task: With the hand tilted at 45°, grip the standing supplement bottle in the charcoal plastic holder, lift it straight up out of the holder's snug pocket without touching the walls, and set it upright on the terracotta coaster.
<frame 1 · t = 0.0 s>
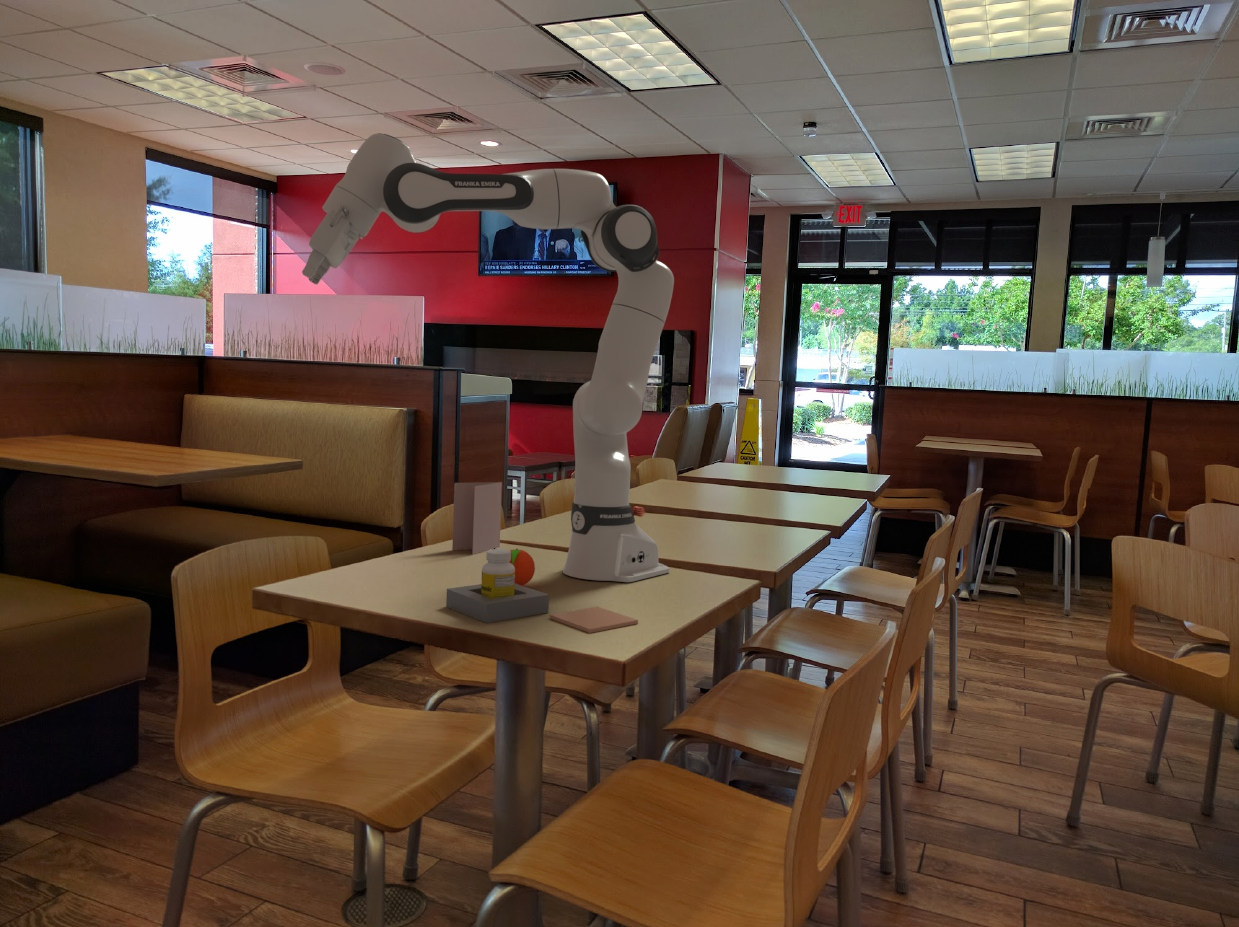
hand: (309, 279, 158), 54 cm above the table, tool tilted 30°, fingers open, 8 cm apart
greeting card: (481, 551, 194), on the table
coaster: (593, 621, 139), on the table
supplement bottle: (497, 611, 144), resting in pocket holder
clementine: (515, 588, 160), on the table
pocket holder: (497, 609, 144), on the table
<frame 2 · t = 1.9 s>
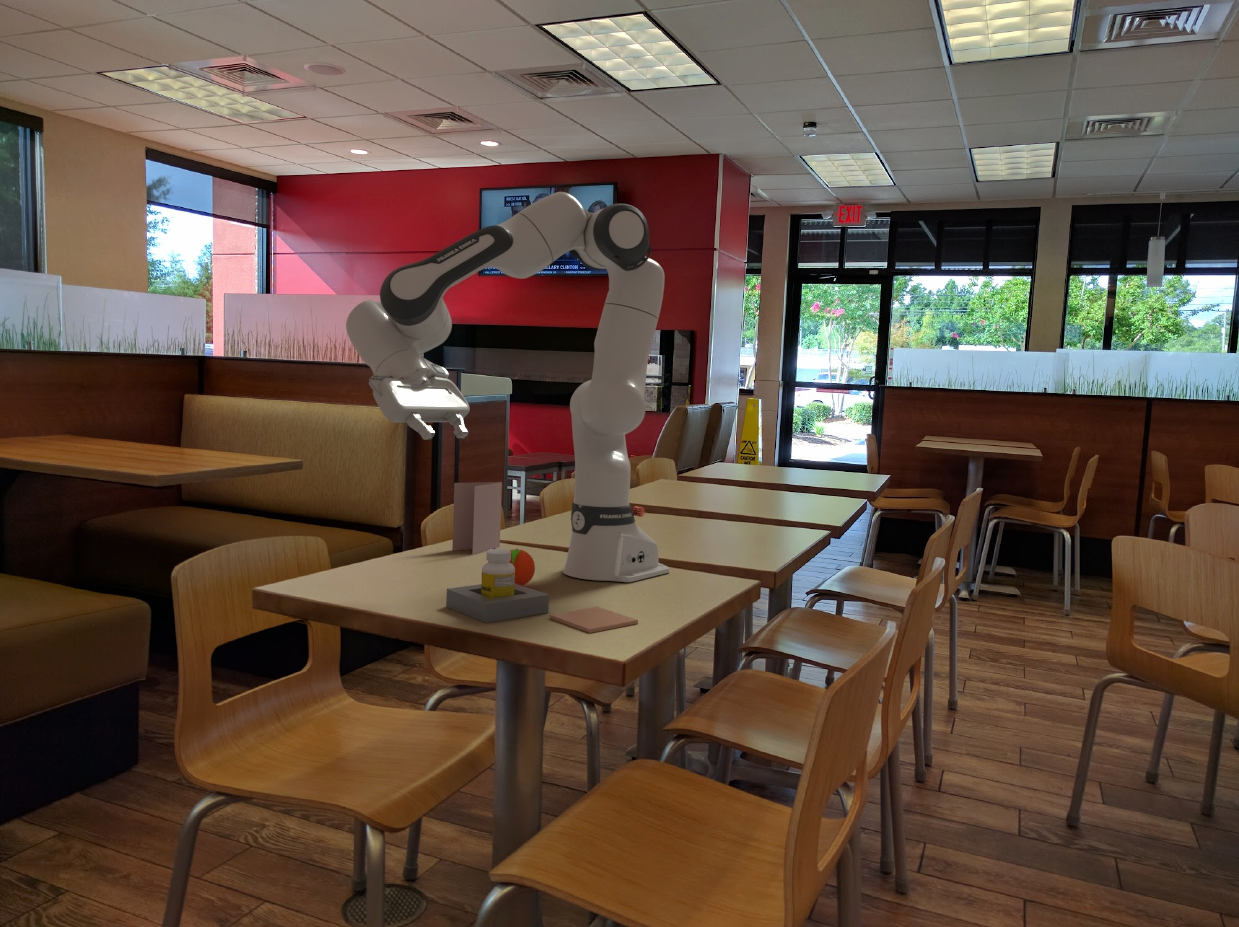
hand: (447, 436, 152), 27 cm above the table, tool tilted 45°, fingers open, 8 cm apart
nothing on the table moved.
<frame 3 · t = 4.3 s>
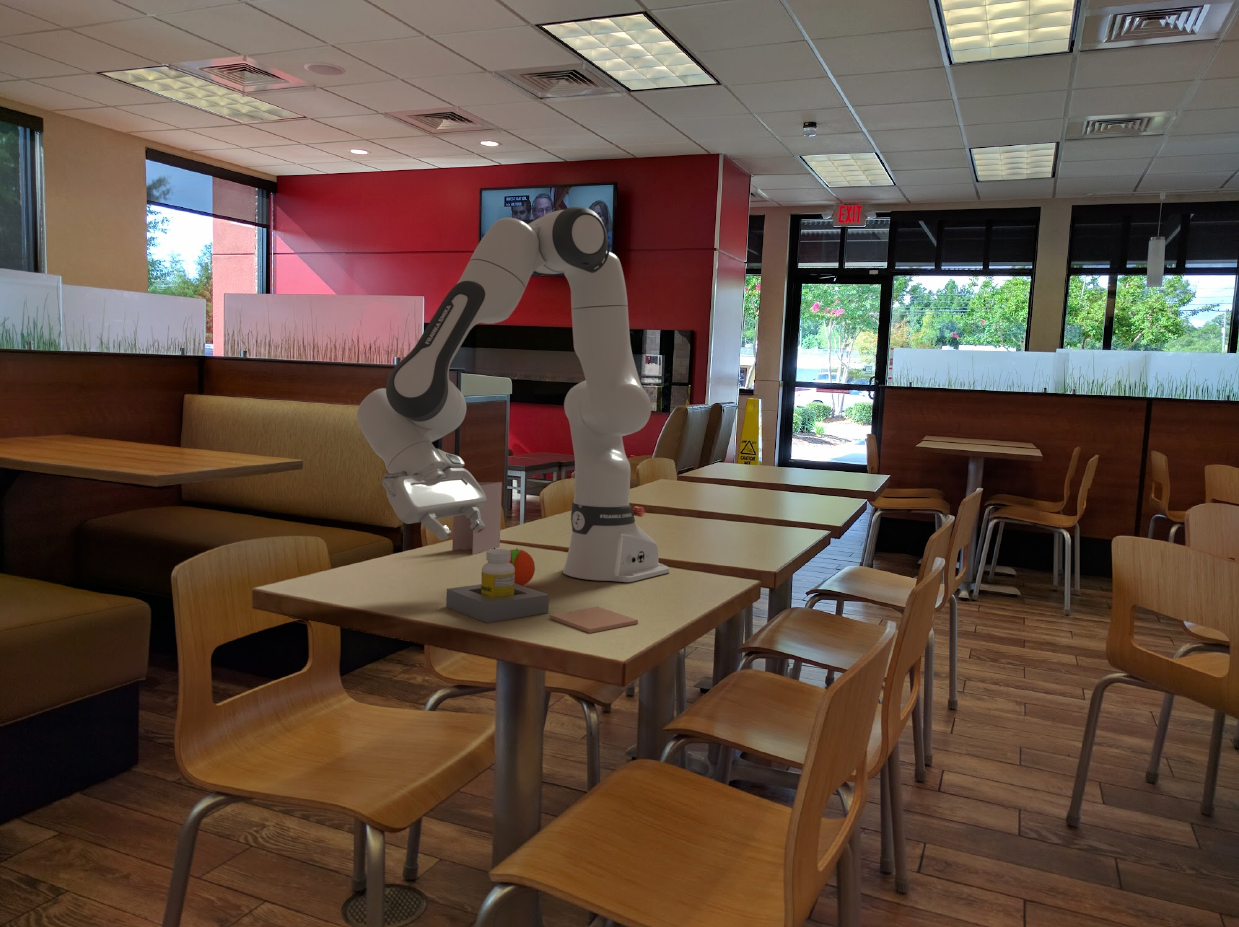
hand: (464, 534, 146), 12 cm above the table, tool tilted 45°, fingers open, 8 cm apart
nothing on the table moved.
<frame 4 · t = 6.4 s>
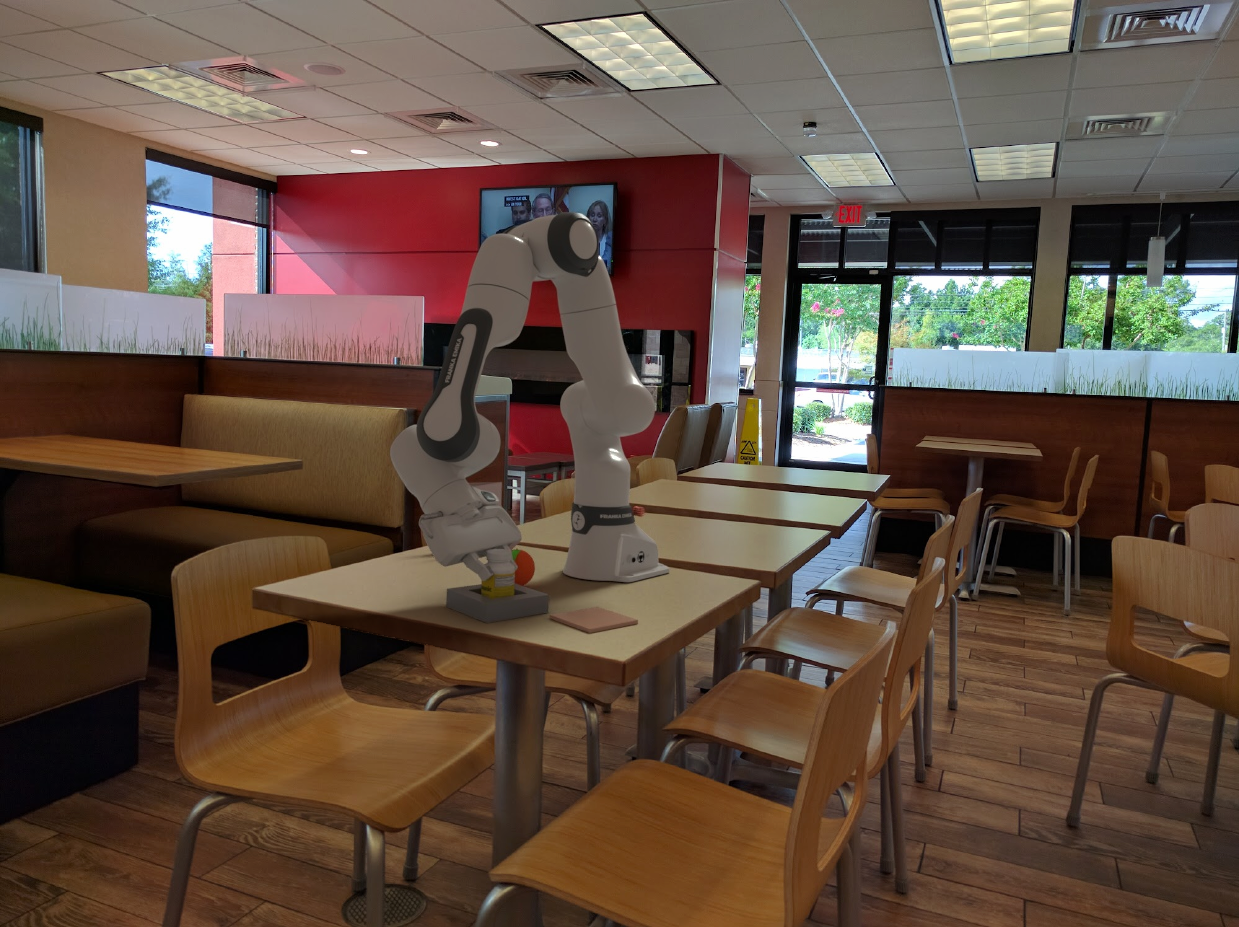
hand: (501, 574, 143), 6 cm above the table, tool tilted 45°, fingers closed on supplement bottle, 5 cm apart
supplement bottle: (497, 610, 144), resting in pocket holder, touching gripper
everything else where it was.
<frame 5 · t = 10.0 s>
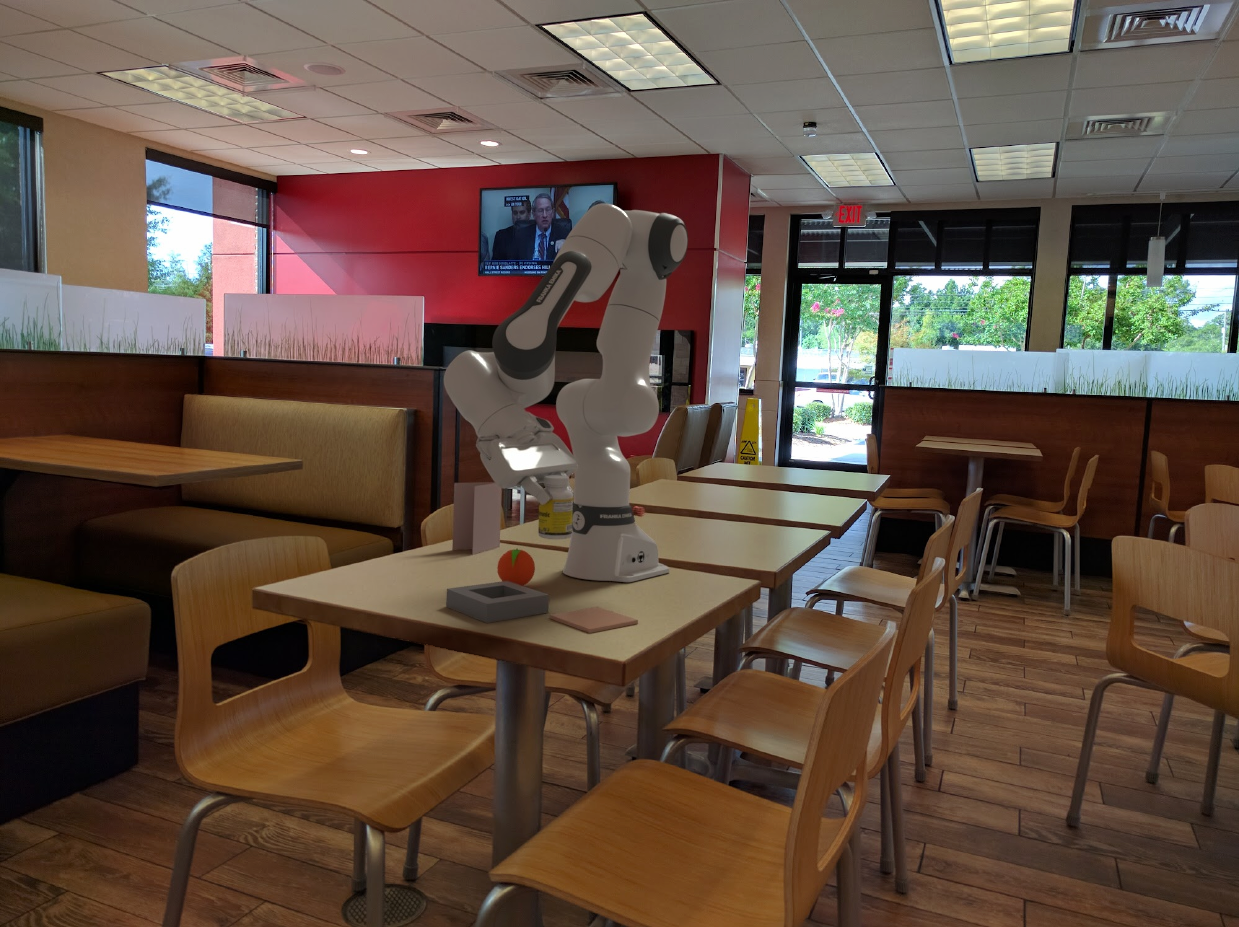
hand: (559, 499, 139), 19 cm above the table, tool tilted 45°, fingers closed on supplement bottle, 5 cm apart
supplement bottle: (554, 538, 140), point 13 cm above the table, touching gripper
everything else where it was.
when the fingers open (8 cm above the table, at t = 13.7 s): supplement bottle stays where it is, resting on coaster.
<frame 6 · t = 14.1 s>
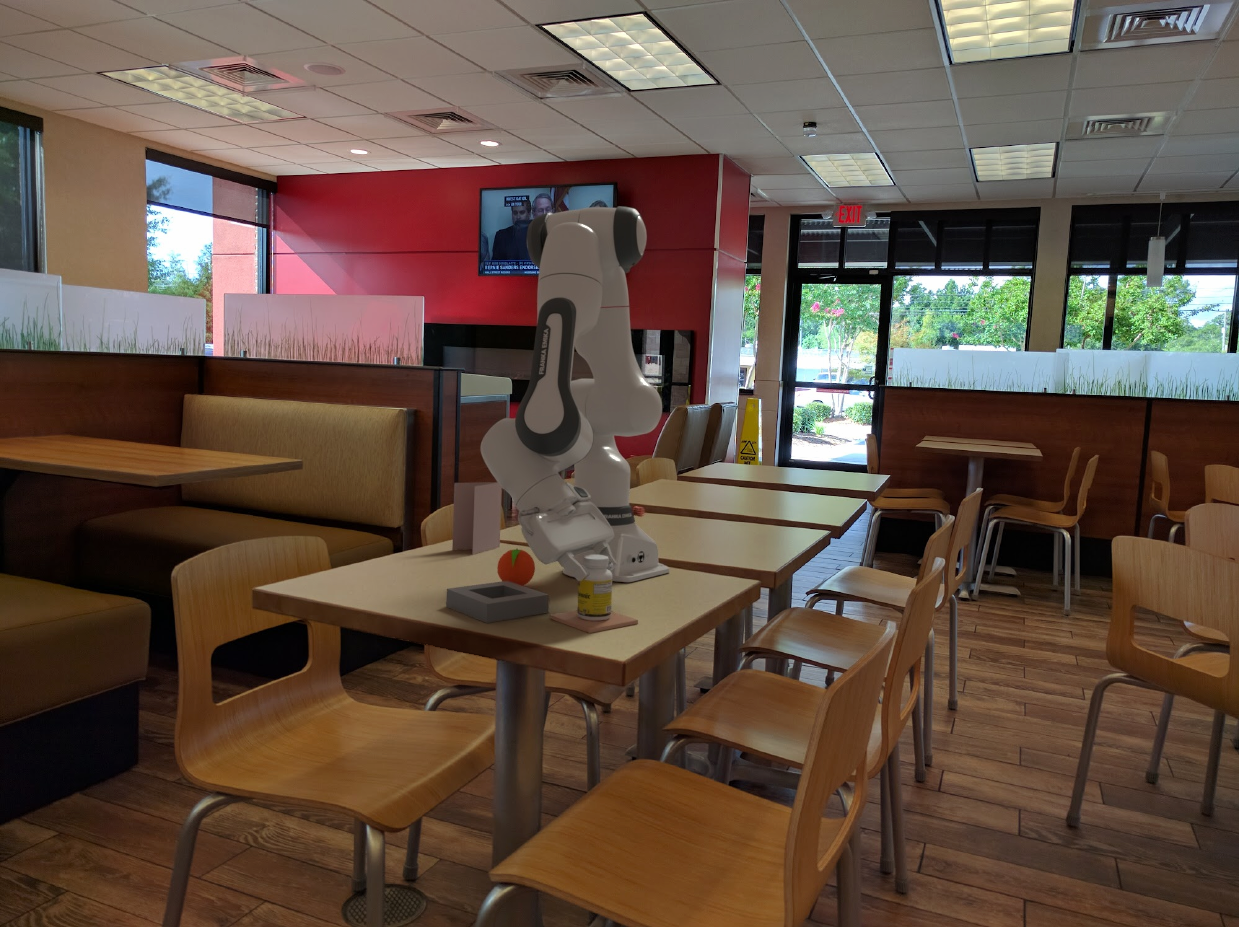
hand: (599, 573, 138), 8 cm above the table, tool tilted 45°, fingers open, 8 cm apart
supplement bottle: (593, 618, 139), resting on coaster
everything else where it was.
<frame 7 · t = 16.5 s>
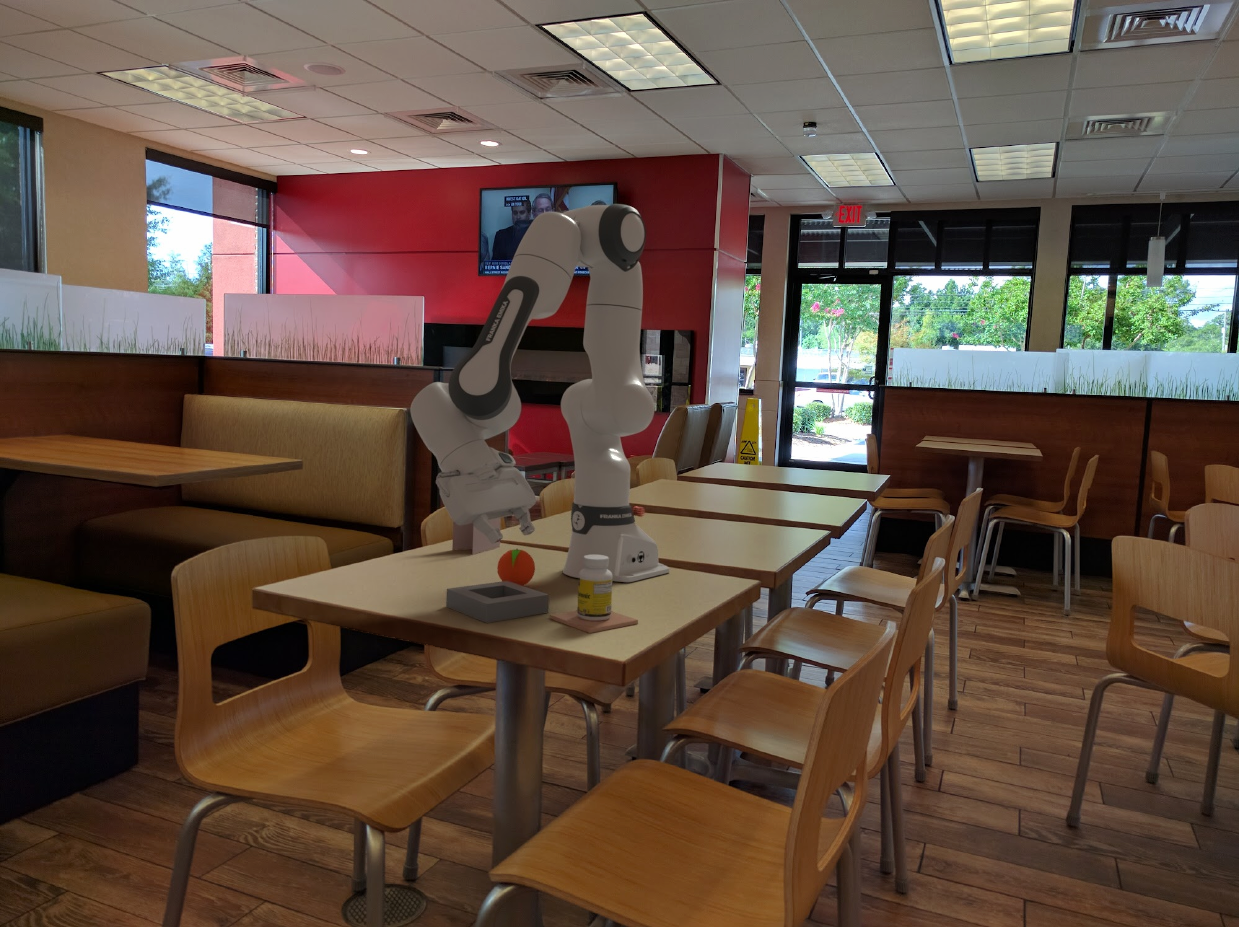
hand: (514, 537, 144), 12 cm above the table, tool tilted 40°, fingers open, 8 cm apart
nothing on the table moved.
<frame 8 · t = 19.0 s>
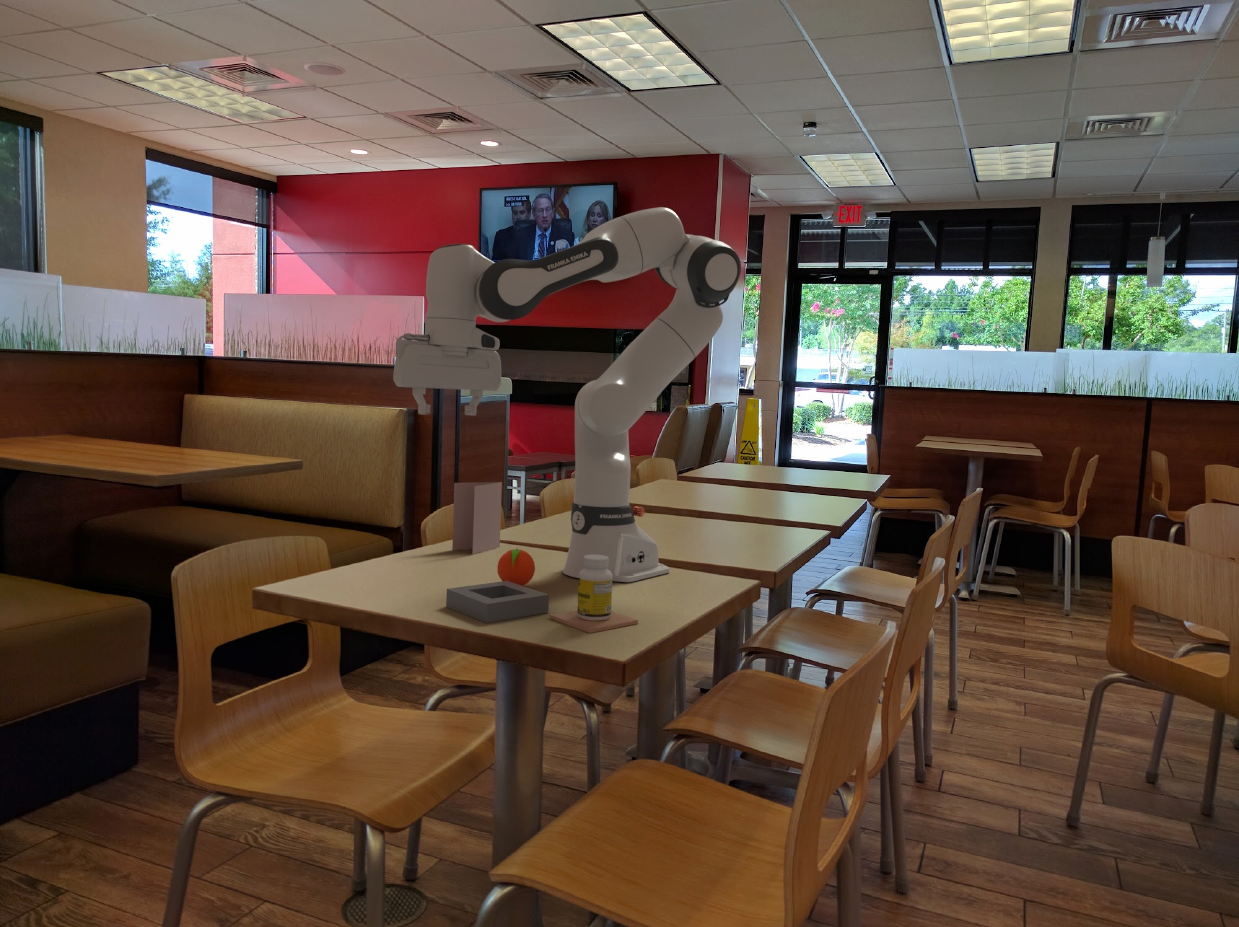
hand: (447, 415, 156), 31 cm above the table, tool pointing down, fingers open, 8 cm apart
nothing on the table moved.
at the end: supplement bottle 0.0 cm off-centre on the coaster, point 0.4 cm above the coaster's base; supplement bottle tilted 0°; the gripper is holding nothing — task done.
